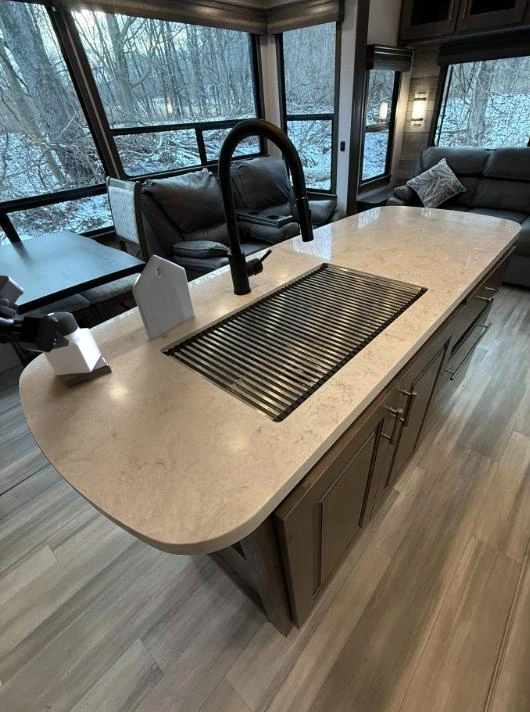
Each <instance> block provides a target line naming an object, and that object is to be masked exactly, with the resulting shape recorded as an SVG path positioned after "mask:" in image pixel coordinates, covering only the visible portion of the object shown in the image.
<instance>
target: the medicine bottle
mask: <svg viewBox="0 0 530 712" xmlns="http://www.w3.org/2000/svg"><path fill="white" fill-rule="evenodd" d="M47 315H49V316H52V317H55V318H57V319H58V321H59V323H58V327H57V332H58V333H59V334H61V335H62V336H63V337H65V338H66V339H67V340H69V345H68V346H66V347H61V348H57V349H53V350H52V351H50V352H49V353H47V352H42V353H43V355H44V356H45V358H46V360H47V361H48V364H49V365H50V366H51V368H52V370H53V372H54V373H55V375H56V376H61V375H66V374H77V373H88V372H91V371H92V369H93V368H94V366H95V364H96V363H97V361H98V359H99V357H100V356H102V353H101V351H100V349H99V347H98V344H97V342H96V341H95V338H94V336H93V334H92V332H91V330H90V328H80V327H79V325H78V323H77V321H76V318H75V317H74V315H73V314H72V313H70V312H68V311H55V312H51V313H49V314H47Z"/></svg>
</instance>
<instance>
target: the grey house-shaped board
mask: <svg viewBox="0 0 530 712" xmlns="http://www.w3.org/2000/svg"><path fill="white" fill-rule="evenodd" d="M131 290H132V295H133V297H134V301H135V303H136V306H137V309H138V312H139V315H140V317H141V320H142V324H143V326H144V330H145V333H146V335H147V338H148V340H149V341H153V340H154V339H156V338H158V337H160V336H161V335H163V334H165V333H167V332H169V331H170V330H172V329H174V328H175V327H177V326H179V325H181V324H183V323H185V322H186V321H188V320H190V319H191V318H193V317H195V316H196V313H195V308H194V304H193V300H192V296H191V290H190V287H189V282H188V278H187V274H186V270H185V268H184V267H182V266H180V265H178V264H176V263H174V262H172V261H170V260H168V259H166V258H163V257H161V256H158V255H156V254H153V255H151V257H150V258H149V260H148V261H147V263H146V265H145V267H144V268H143V270H142V271H141V273H139V274H138V276H137V278H136V280H135V282H134V285H133V286H132V289H131Z"/></svg>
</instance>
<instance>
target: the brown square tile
mask: <svg viewBox="0 0 530 712" xmlns="http://www.w3.org/2000/svg"><path fill="white" fill-rule="evenodd" d="M112 372H113V371H112V368H111V366H110V365H109V364H108V362H107V361H106V359H105V358H104V357H103V355H101V356H100V357H99V359H98V361H97V363H96V364H95V366H94V368H93V369H92V371H91V372H88V373H77V374H66V375H60V377H61V379H62V381H63V382H64V384H65V386H66V387H67V389H68V390H69V389H72V388H74V387H78V386H79V385H82V384H85V383H87V382H90V381H93V380H94V379H97V378H100V377H102V376H105V375H107V374H110V373H112Z"/></svg>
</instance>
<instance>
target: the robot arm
mask: <svg viewBox="0 0 530 712" xmlns="http://www.w3.org/2000/svg"><path fill="white" fill-rule="evenodd" d="M24 293H25V289H24V288H23V287H22V286H21V285H19V284H18V283H17V282H15V280H13V279H12V278H11V277H10V276H8V275H3V274H0V345H7V344H14V343H16V344H17V343H18V344H19V345H20V347H21V349H24V350H28V351H33V352H39V353H43V352H47V353H49V352H50V351H52V350H53V349H57V348H61V347H66V346H68V345H69V340H67V339H66V338H65V337H63V336H62V335H61V334H59V333H58V332H57V327H58V323H59V321H58V319H57V318H55V317H52V316H49V315H48V314H45V313H35V312H34V313H33V312H30V313H28V314H26V315H24V316H23V319H14V318H15V317H16V313H17V310H15V309H12V307H14V305H15V304H16V302H17V301H18V299H19V298H20V297H21V296H23V295H24Z"/></svg>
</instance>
